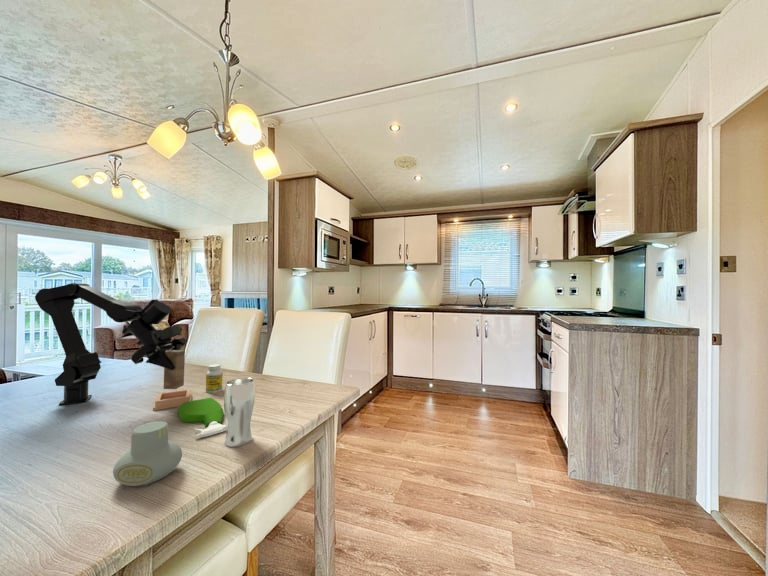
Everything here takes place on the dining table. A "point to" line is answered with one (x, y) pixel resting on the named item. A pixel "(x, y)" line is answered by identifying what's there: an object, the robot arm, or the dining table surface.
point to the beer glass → (238, 410)
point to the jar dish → (172, 399)
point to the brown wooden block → (175, 370)
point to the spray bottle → (203, 415)
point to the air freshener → (148, 456)
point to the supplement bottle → (214, 379)
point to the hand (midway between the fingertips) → (178, 367)
